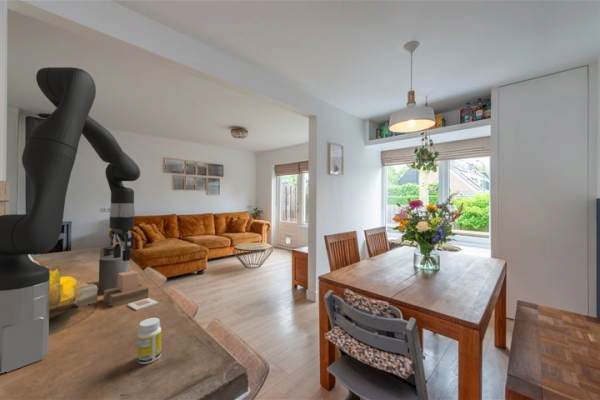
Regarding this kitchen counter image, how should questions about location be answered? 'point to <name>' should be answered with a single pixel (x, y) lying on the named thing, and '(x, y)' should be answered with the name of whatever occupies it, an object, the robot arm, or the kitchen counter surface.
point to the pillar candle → (110, 272)
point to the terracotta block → (127, 281)
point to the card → (142, 304)
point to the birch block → (87, 295)
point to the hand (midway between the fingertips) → (121, 259)
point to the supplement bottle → (149, 341)
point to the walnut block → (125, 295)
